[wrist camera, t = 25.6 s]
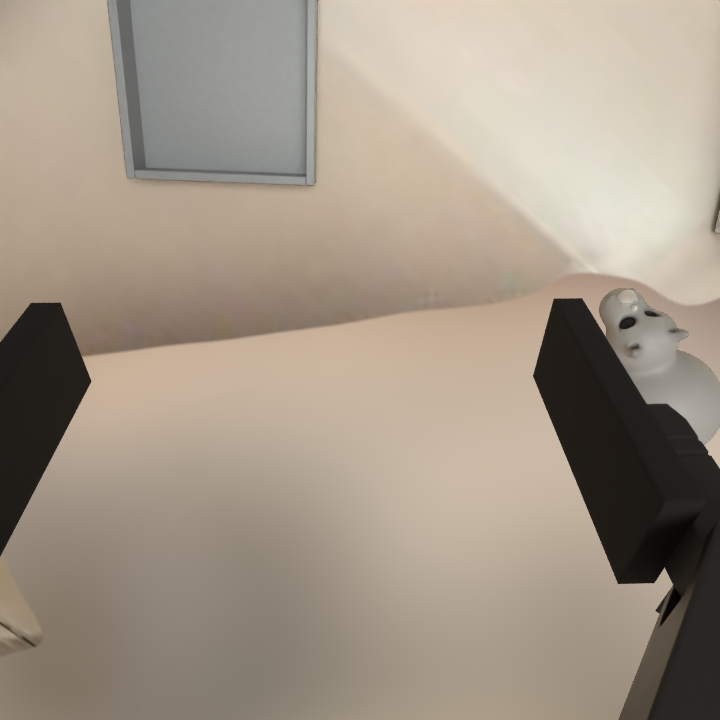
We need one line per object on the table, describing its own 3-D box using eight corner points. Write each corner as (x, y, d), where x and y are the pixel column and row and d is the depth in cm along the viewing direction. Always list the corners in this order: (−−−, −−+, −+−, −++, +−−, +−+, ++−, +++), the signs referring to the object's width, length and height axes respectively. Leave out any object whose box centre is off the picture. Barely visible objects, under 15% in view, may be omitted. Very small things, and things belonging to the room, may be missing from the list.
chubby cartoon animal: (649, 250, 38) (730, 281, 30) (681, 395, 42) (760, 455, 34) (547, 291, 39) (601, 331, 31) (589, 429, 43) (645, 496, 35)
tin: (139, 175, 35) (126, 178, 33) (109, -125, 29) (90, -146, 27) (315, 182, 36) (314, 185, 33) (319, -111, 30) (317, -130, 28)
